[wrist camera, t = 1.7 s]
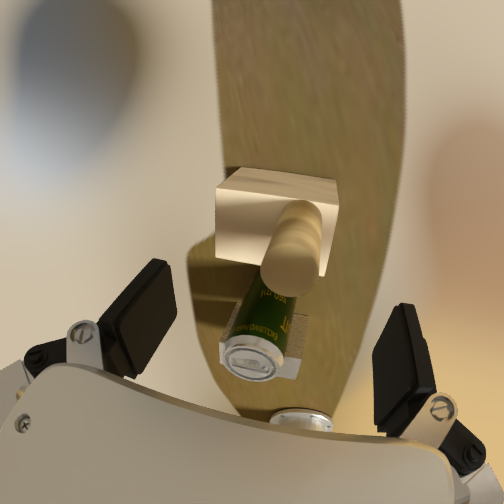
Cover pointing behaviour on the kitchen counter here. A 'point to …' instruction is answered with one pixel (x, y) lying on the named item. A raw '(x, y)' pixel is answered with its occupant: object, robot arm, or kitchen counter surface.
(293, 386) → the kitchen counter surface
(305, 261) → the wooden block with peg
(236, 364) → the beer can
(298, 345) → the grey box
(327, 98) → the kitchen counter surface
